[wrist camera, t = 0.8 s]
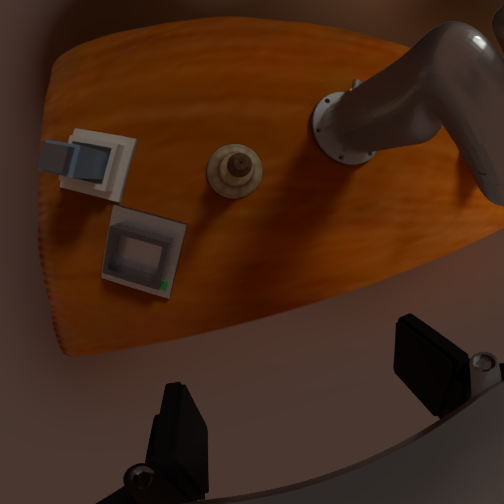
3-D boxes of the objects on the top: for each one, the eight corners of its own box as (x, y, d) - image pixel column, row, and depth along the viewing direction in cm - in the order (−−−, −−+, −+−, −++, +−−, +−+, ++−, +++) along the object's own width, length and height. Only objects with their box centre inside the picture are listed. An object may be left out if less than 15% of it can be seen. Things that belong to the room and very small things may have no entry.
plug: (83, 148, 35) (39, 138, 23) (113, 154, 36) (74, 143, 24) (77, 172, 36) (32, 170, 24) (106, 179, 37) (66, 178, 25)
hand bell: (258, 201, 41) (281, 209, 26) (203, 195, 40) (192, 200, 25) (265, 147, 39) (291, 124, 24) (210, 141, 38) (203, 113, 23)
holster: (77, 129, 35) (66, 125, 31) (137, 139, 37) (129, 135, 33) (62, 186, 37) (50, 187, 33) (120, 202, 39) (111, 203, 35)
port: (117, 204, 39) (104, 206, 34) (188, 223, 41) (183, 228, 36) (104, 275, 41) (92, 284, 36) (170, 295, 43) (165, 307, 38)
